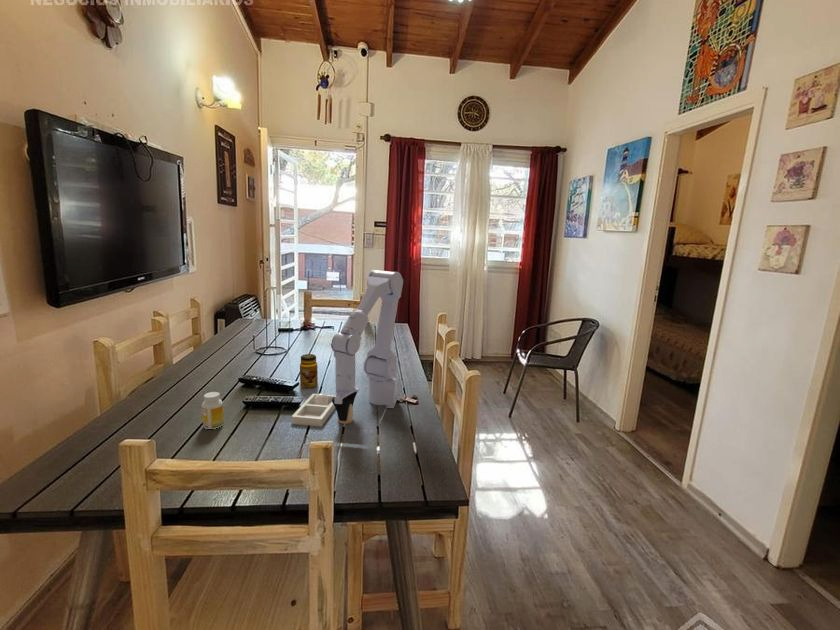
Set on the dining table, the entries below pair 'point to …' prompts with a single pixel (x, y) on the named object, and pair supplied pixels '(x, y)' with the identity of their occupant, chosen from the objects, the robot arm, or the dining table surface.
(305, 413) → the holder
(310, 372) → the condiment
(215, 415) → the supplement bottle
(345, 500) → the dining table surface
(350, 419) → the brown egg
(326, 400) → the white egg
